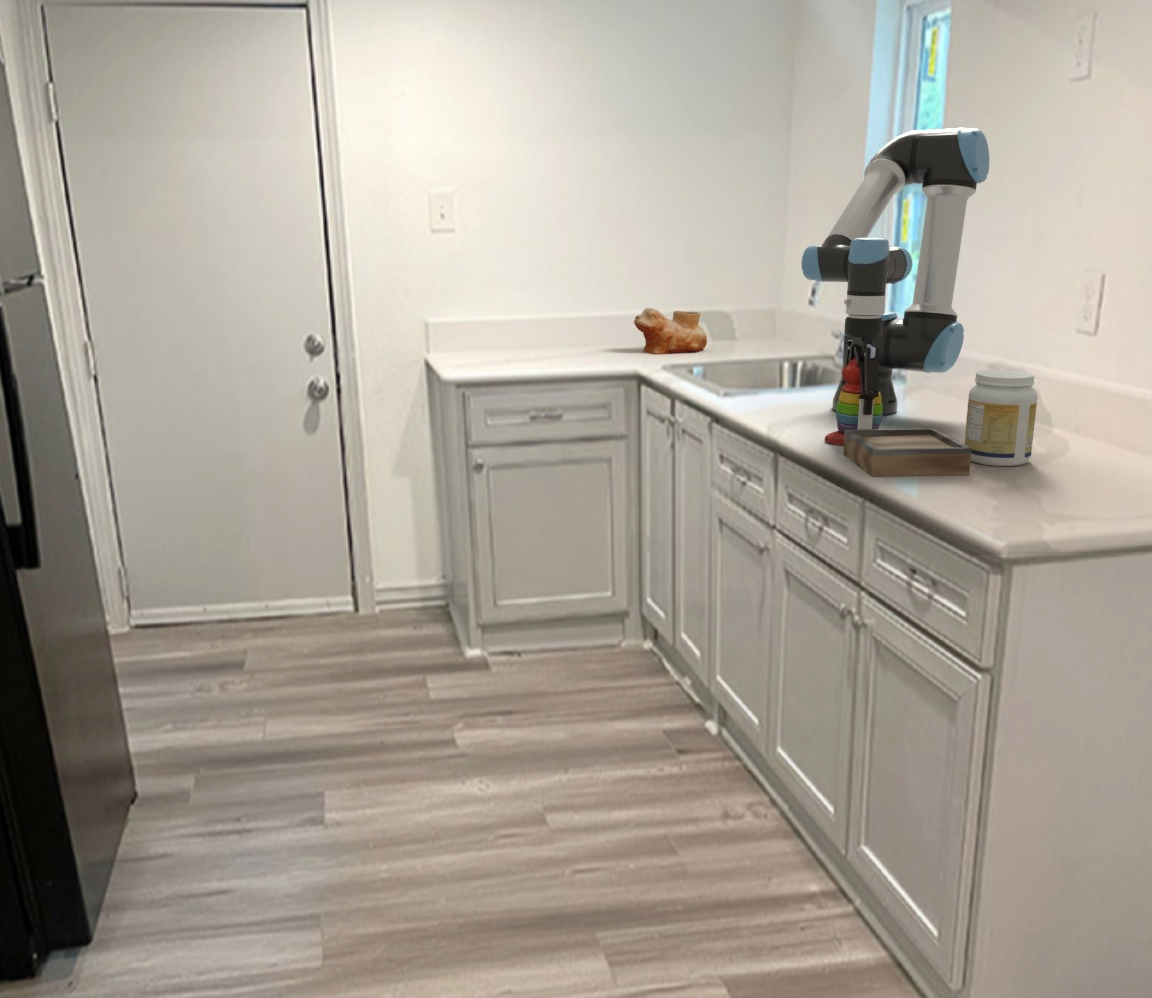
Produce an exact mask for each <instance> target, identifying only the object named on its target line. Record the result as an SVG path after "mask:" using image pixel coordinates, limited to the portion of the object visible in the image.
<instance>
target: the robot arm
mask: <svg viewBox="0 0 1152 998" xmlns="http://www.w3.org/2000/svg"><path fill="white" fill-rule="evenodd" d="M989 170H990V151H989V143H988V142H987V138H986V135H985V134H984V132H983V131H982V130H980V129H978V128H974V127H971V128H969V127H968V128H967V127H965V128H964V127H961V126H960V127H958V128H957V127H955V128H943V129H941V128H940V129H926V130H925V129H916V130H911V131H908V132H906V133H903V134H901V135H899V136H897V137H895V138H894V139H892V140H891V141H889V142H888V143H887V144H885V145H884V146H882V148H881V149H879V150H878V152H876V153H875V154H874V156H873V157H872V158H871V159H870V161H869V162H868V164H867V166H866V167H865V169H864V175H863V176H864V179H863V180H862V182H861V183H860V185H859V187H857V190H856V191H855V193H854V194H853V195H852V197H851V199H850V201H848V203H847V205H846V207H845V208H844V210H843V211H842V213H841V215H840V217H839V218H838V219H837V221H836V223H835V224H834V226H833V227H832V229H830V230H831V231H830V232H829V233H828V235H827V237H826V238H825V240H824V241H823V243H822V244H821V245H820V244H813V245H809V246H807V247H806V248H805V250H804V251H803V253H802V257H801V270H802V274H803V276H804V277H805V279H807V280H809V281H815V282H816V281H817V282H822V283H823V282H828V283H829V282H830V283H833V282H834V283H847V289H846V299H844V302H843V303H844V305H845V314H846V315H848V316H846V318H845V319H844V333H843V347H842V349H843V350H842V365H841V367H842V369H843V368H845V367H846V365H847V364H848V363H849V362H850V361H851V360H852V359H854V358H856V360H857V367H858V368H859V372H860V383H861V394H862V395H860V396H858V399H860V400H859V415H858V429H872V419H873V405H874V399H875V397H878V396H879V392H880V393H881V399H882V402H881V403H882V406H883V413H882V416H885V415H891V414H894V413H897V411H898V399H897V395H896V390H895V388H894V387H895V386H894V382H893V370H900V371H901V370H902V371H911V372H921V373H927V374H931V373H937V374H939V373H940V374H941V373H946V372H948V371H949V370H951V369H952V368H953V367H954V365H955V364H956V362H957V361H958V358H959V356H960V355H961V352H962V351H961V350H962V348H963V344H964V338H965V334H964V332H965V330H964V326H963V324H962V323H961V322H959V321H957V319H958V314H957V312H956V311H955V310H954V309H953V306H952V305H953V301H954V300H953V299H954V295H955V294H954V291H955V286H956V279H957V271H958V267H959V266H958V265H959V259H960V253H961V245H962V238H963V233H964V231H963V230H964V226H965V225H964V224H965V219H966V211H967V204H968V200H969V199H970V198H971V197H972V196H974V194H975V193H977V192H976V191H977V185H978V184H982V183H983V182H985V181H986V180H987V178H988V174H989ZM912 184H922V185H921V191H922V192H923V193H924V195H925V196H926V198H927V199H926V207H925V212H924V219H923V226H922V235H921V242H920V249H919V256H918V264H917V270H916V277H915V282H914V283H915V284H914V292H913V298H912V304H911V305H910V306H909V307H907V308H906V309H905V310H904V312H903V313H904V314H903V318H902V319H901V318H898V314H897V312H895V311H887V312H886V311H885V309H886V289H887V285H889V284H892V285H894V284H896V283H897V284H898V283H899V282H902V281H904V280H905V279H906V278H907V277H908V276H909V275H910V274H911V271H912V269H913V258H912V255H911V254H910V252H909V251H908V250H906V249H905V248H904V247H902V246H901V247H900V246H897V245H890V243H889V240H888V239H887V238H885V237H883V238H882V237H869V236H870V234H871V232H872V231H873V229H874V227H875V226H876V224H877V222H878V221H879V219H880V218H881V216H882V215H883V213H884V211H885V210H886V207H887V206H888V204H889V203H890V201H891V199H892V198H893V197H894V195H897V194H898V193H900V192H901V191H902V190H903V189H904V188H905V186H906V185H912ZM860 360H861V361H862V362H861V361H860ZM842 369H841V370H842ZM846 384H847V383H846V382H845V380H844V379H843V377H842V376H841V378H840V380H839V383H838V386H837V389H836V391H835V393H834V397H833V398H832V405H831V406H832V407H831V409H832V410H834V411H836V406H837V402H838V401H839V396H840V393H841V391H842V388H843V386H844V385H846Z"/></svg>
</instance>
